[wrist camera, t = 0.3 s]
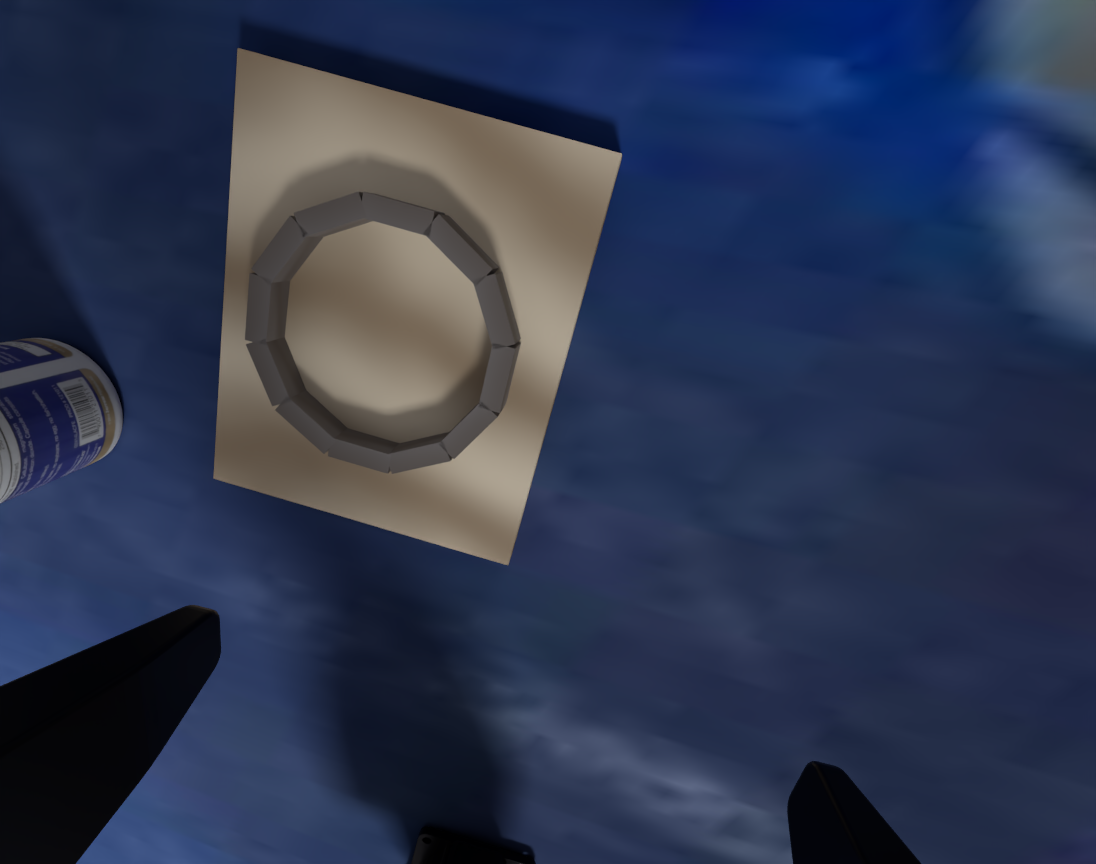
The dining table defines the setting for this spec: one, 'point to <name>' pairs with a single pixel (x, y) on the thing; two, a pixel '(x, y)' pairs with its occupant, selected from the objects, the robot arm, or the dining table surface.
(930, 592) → the dining table surface
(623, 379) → the dining table surface
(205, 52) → the dining table surface
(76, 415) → the pill bottle
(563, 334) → the collar board
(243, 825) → the dining table surface
